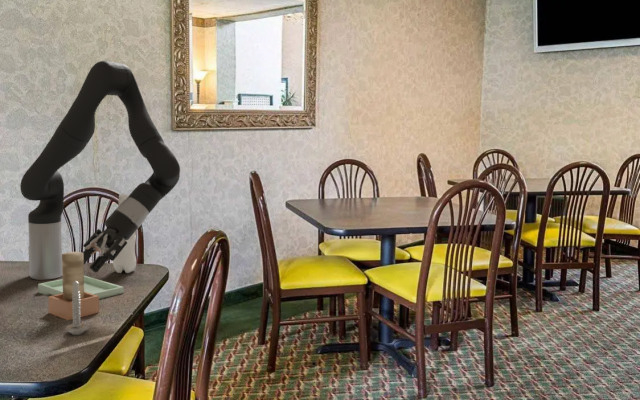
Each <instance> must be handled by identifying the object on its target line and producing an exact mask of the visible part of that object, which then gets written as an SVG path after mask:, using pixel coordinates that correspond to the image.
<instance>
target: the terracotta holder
mask: <svg viewBox="0 0 640 400" xmlns="http://www.w3.org/2000/svg"><path fill="white" fill-rule="evenodd" d="M47 299H48V314H50V315H53V316H56V317H59V318H61V319H64V320H66V321H70V320H71V321H73V317H72V316H73V312H72V311H73V309H72V308H73V307H72V306H73V304H72V303H73V302H72V301H71V302H67V301H65V300H63V294H58V295H50V296H48V298H47ZM80 304H81V305H80V306H81V307H80V309H81V310H80V311H81V313H80V314H81V315H80V316H81V318H82V317H86V316H91V315H94V314H99V313H100V299H99V296H97V295H94V294H91V293H88V292H85V291H84V299H81V300H80Z"/></svg>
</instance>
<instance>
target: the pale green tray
mask: <svg viewBox="0 0 640 400" xmlns="http://www.w3.org/2000/svg"><path fill="white" fill-rule="evenodd" d="M37 289H38V290H37V291H38V293H39V294H41V295H45V296H48V295H50V296H53V295H58V294H63V278H61V279H56V280H50V281H46V282H42V283H38V284H37ZM124 289H125V287H124V286H122V285H118V284H116V283H111V282H108V281H105V280H101V279H97V278H94V277H91V276H87V275H84V291H85V292H88V293H91V294H94V295H97V296H99V300H100V299H104V298H110V297H113V296H117V295H118V296H119V295H122V294H124V293H125V291H124Z"/></svg>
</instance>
